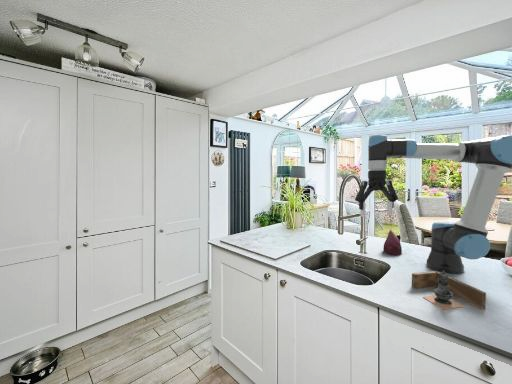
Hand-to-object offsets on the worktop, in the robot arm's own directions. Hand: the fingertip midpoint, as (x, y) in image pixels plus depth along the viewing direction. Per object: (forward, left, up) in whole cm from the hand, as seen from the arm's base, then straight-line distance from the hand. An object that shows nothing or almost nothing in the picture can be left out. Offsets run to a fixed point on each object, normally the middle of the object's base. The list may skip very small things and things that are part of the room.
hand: (376, 216), depth 116 cm
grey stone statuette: (-10, +26, -29) cm, 40 cm away
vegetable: (-31, -28, -29) cm, 51 cm away
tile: (-10, +26, -29) cm, 40 cm away
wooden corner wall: (-14, +23, -29) cm, 39 cm away
